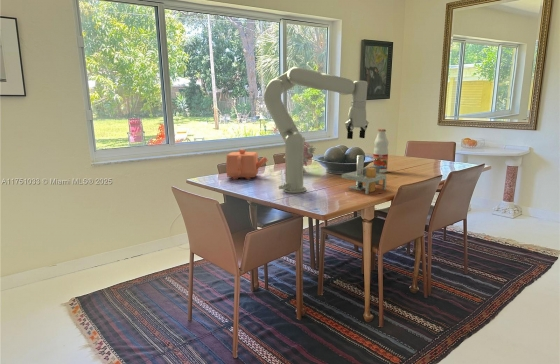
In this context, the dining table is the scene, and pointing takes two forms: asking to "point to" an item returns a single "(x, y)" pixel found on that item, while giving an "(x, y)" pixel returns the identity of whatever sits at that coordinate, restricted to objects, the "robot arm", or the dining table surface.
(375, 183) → the bracket
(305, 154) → the flower
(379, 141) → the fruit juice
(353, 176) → the grey metal piece
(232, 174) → the teapot
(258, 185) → the dining table surface
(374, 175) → the mustard rectangular block
